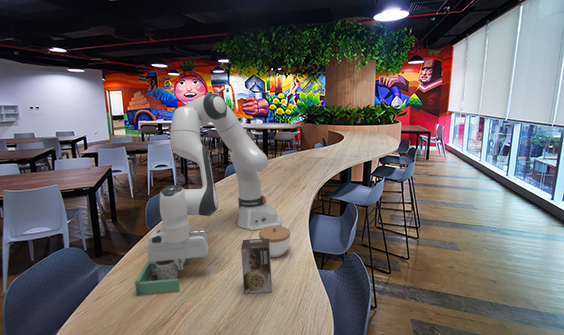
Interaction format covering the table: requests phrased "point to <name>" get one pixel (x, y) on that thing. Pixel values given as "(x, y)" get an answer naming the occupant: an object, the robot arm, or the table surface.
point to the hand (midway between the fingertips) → (180, 269)
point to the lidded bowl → (276, 239)
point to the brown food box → (256, 265)
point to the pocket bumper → (155, 282)
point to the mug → (164, 269)
